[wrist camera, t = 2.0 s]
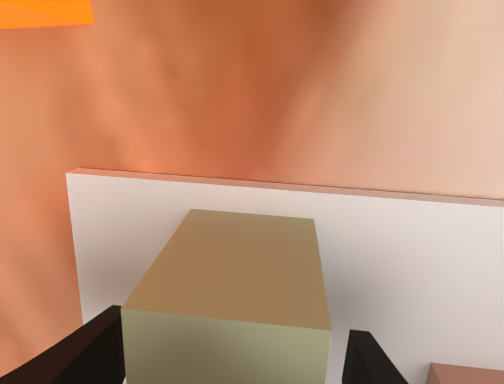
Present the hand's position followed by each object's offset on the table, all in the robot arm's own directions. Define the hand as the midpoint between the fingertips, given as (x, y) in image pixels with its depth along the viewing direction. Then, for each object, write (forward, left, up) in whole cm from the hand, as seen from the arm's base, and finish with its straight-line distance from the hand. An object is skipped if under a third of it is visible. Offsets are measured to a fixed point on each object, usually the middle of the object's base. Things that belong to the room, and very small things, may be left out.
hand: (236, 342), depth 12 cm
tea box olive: (0, 0, -3) cm, 3 cm away
